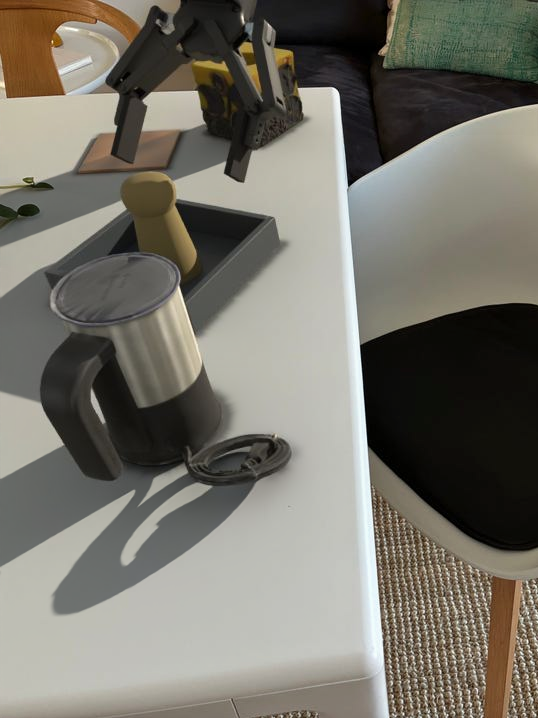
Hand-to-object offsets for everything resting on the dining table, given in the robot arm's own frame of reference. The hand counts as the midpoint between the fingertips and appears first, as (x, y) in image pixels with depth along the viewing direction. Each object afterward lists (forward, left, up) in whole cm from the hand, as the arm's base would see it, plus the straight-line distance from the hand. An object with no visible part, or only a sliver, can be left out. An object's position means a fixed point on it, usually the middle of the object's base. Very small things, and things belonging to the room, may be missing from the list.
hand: (176, 169), depth 81 cm
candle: (+3, +32, -10) cm, 34 cm away
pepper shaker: (-2, -4, -10) cm, 11 cm away
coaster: (-13, +26, -10) cm, 31 cm away
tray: (-2, -4, -10) cm, 11 cm away
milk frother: (+5, -30, -10) cm, 32 cm away
